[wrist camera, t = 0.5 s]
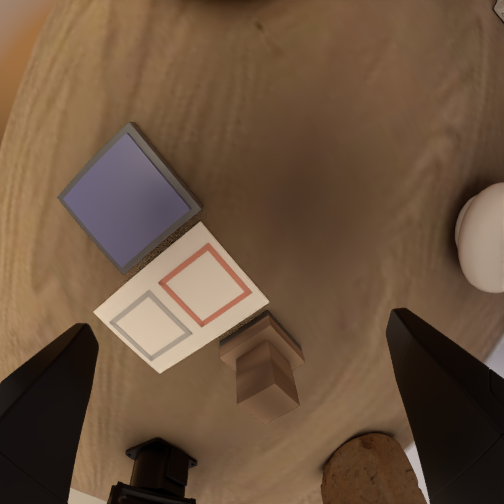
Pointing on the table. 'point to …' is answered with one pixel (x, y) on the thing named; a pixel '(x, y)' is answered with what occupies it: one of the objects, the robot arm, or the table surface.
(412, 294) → the table surface
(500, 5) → the skincare box
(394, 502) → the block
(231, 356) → the stamp
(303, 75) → the table surface
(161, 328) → the sheet
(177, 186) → the inkpad
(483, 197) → the flower vase
